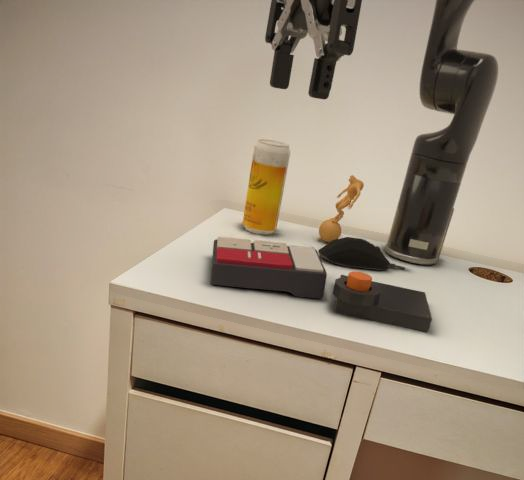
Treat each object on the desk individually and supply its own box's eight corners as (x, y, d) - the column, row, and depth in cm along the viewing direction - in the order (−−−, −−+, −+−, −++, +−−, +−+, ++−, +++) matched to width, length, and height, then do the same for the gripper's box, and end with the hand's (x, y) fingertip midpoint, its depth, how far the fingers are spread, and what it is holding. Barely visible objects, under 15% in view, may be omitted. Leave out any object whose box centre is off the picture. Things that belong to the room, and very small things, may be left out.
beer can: (241, 223, 106) (254, 136, 99) (273, 227, 107) (289, 142, 100) (242, 232, 101) (257, 142, 94) (277, 237, 101) (293, 148, 95)
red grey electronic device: (214, 233, 84) (317, 243, 85) (212, 262, 86) (312, 271, 87) (212, 257, 74) (328, 268, 76) (210, 289, 76) (323, 299, 78)
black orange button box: (332, 285, 84) (338, 262, 82) (421, 304, 83) (428, 281, 81) (328, 314, 74) (334, 288, 72) (428, 335, 73) (437, 310, 71)
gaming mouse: (410, 276, 94) (417, 252, 92) (321, 264, 92) (326, 239, 90) (398, 263, 100) (405, 240, 98) (314, 251, 97) (319, 228, 96)
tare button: (346, 282, 76) (349, 269, 75) (369, 286, 76) (372, 274, 75) (345, 289, 74) (348, 276, 73) (369, 294, 73) (372, 281, 73)
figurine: (312, 233, 108) (326, 167, 102) (343, 237, 109) (359, 172, 103) (321, 247, 100) (337, 176, 95) (354, 252, 101) (372, 182, 96)
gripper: (402, -79, 55) (361, 106, 62) (320, -68, 65) (293, 89, 73) (337, -102, 51) (302, 98, 58) (261, -87, 62) (239, 80, 69)
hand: (297, 93), depth 65 cm, fingers open, 8 cm apart
